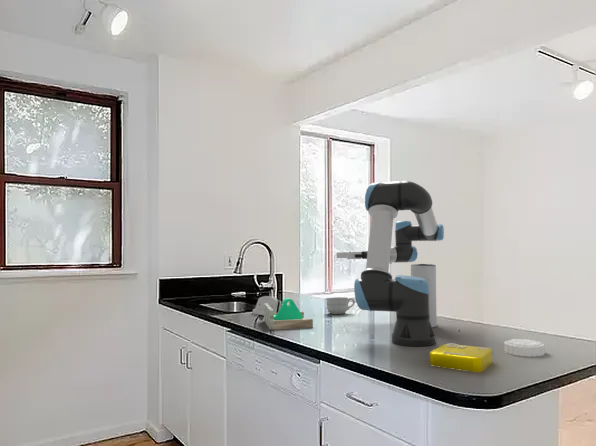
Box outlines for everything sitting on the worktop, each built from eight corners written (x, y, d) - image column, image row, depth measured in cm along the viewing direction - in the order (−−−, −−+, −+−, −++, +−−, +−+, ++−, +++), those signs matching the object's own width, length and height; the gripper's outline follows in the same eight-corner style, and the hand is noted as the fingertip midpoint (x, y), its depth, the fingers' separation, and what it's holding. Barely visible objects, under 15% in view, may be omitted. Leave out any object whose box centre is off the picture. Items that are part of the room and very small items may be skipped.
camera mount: (297, 319, 228) (297, 296, 228) (302, 321, 221) (302, 298, 221) (271, 320, 224) (271, 297, 224) (276, 323, 217) (275, 299, 217)
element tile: (427, 367, 147) (427, 350, 147) (444, 356, 160) (444, 341, 160) (480, 374, 139) (480, 357, 139) (494, 362, 151) (493, 346, 151)
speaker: (439, 324, 214) (437, 263, 215) (435, 328, 205) (433, 264, 205) (414, 323, 219) (412, 262, 219) (408, 327, 209) (407, 264, 210)
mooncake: (514, 347, 171) (514, 336, 171) (551, 352, 162) (551, 341, 162) (497, 352, 163) (496, 341, 163) (534, 359, 154) (534, 347, 154)
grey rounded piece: (251, 313, 255) (256, 293, 257) (258, 315, 258) (263, 296, 260) (271, 316, 242) (276, 296, 245) (278, 319, 245) (284, 299, 247)
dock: (312, 327, 211) (312, 308, 212) (270, 329, 208) (269, 310, 209) (303, 319, 233) (302, 302, 233) (264, 321, 230) (264, 303, 230)
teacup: (324, 315, 245) (324, 298, 246) (329, 311, 256) (329, 295, 256) (352, 315, 241) (352, 299, 242) (356, 312, 252) (356, 296, 252)
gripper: (397, 263, 223) (352, 265, 218) (374, 261, 247) (333, 262, 242) (396, 246, 223) (351, 247, 218) (373, 246, 247) (332, 247, 242)
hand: (341, 255), depth 230 cm, fingers open, 13 cm apart
